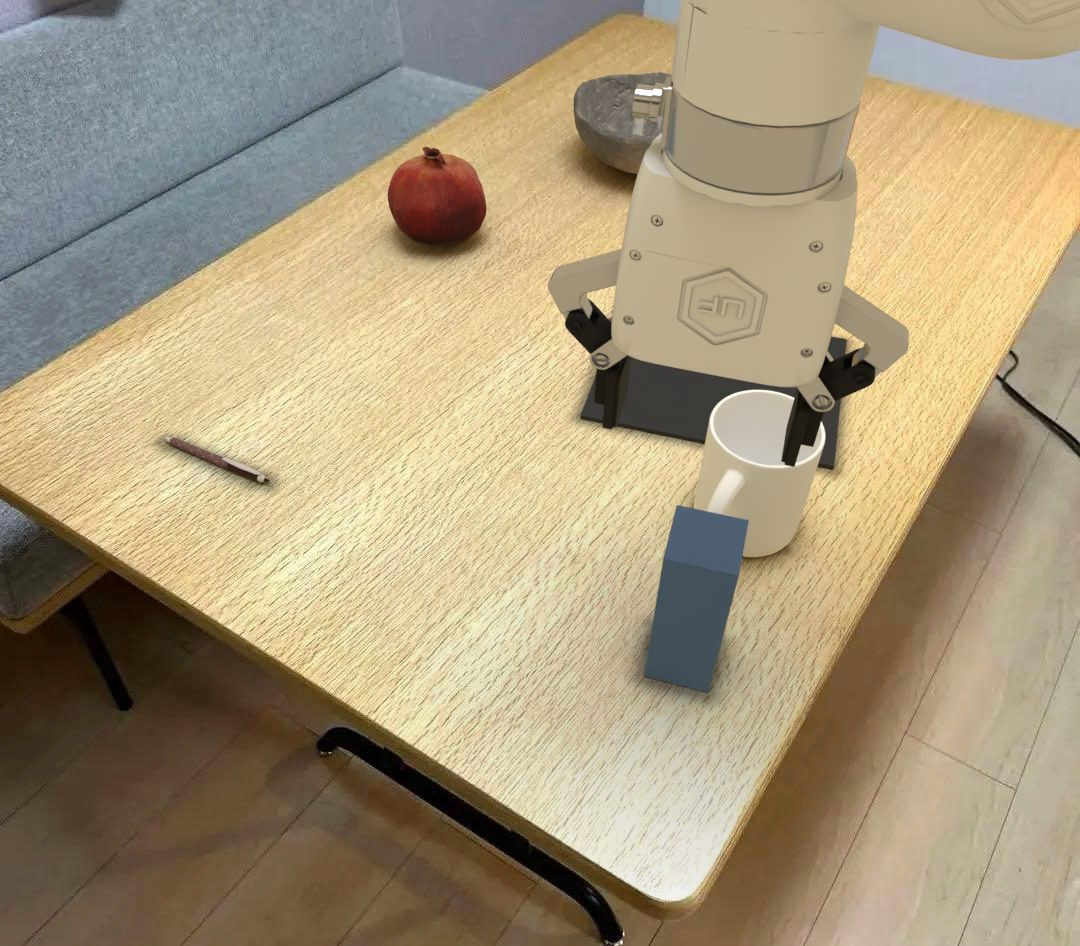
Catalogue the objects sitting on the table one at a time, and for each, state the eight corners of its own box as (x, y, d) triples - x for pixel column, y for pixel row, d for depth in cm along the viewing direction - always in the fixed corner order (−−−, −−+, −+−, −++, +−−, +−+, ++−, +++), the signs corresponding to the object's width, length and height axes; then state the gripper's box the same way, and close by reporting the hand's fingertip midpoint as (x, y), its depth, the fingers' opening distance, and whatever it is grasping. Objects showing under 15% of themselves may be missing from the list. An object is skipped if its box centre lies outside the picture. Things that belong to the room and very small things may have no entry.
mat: (845, 342, 92) (846, 338, 91) (833, 469, 80) (834, 466, 79) (624, 303, 96) (624, 299, 95) (580, 418, 84) (580, 415, 83)
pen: (272, 481, 78) (270, 473, 77) (266, 488, 77) (264, 479, 77) (168, 437, 81) (164, 429, 81) (161, 443, 81) (158, 434, 80)
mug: (742, 611, 69) (767, 518, 62) (646, 557, 73) (660, 463, 65) (814, 513, 76) (845, 419, 69) (723, 469, 79) (744, 374, 72)
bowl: (725, 202, 110) (736, 136, 104) (573, 200, 110) (576, 134, 104) (706, 129, 122) (715, 67, 116) (570, 128, 122) (572, 66, 116)
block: (718, 639, 68) (748, 519, 58) (708, 692, 65) (739, 575, 55) (656, 624, 68) (676, 504, 59) (643, 676, 65) (663, 558, 56)
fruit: (374, 249, 102) (363, 162, 95) (419, 205, 108) (412, 121, 101) (462, 272, 99) (457, 185, 92) (503, 226, 105) (502, 141, 98)
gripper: (530, 140, 38) (528, 444, 50) (978, 207, 35) (860, 514, 47) (577, 66, 43) (565, 358, 55) (972, 118, 40) (866, 416, 52)
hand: (700, 430), depth 51 cm, fingers open, 9 cm apart
